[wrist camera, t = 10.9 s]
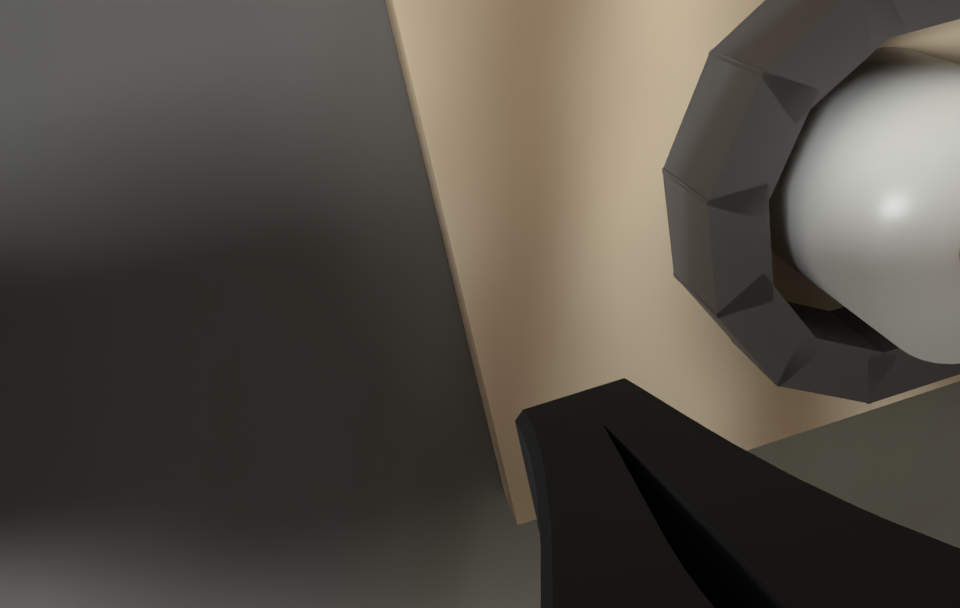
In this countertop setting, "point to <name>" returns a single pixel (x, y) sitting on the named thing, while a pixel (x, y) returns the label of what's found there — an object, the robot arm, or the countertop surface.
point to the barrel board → (647, 203)
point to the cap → (881, 200)
